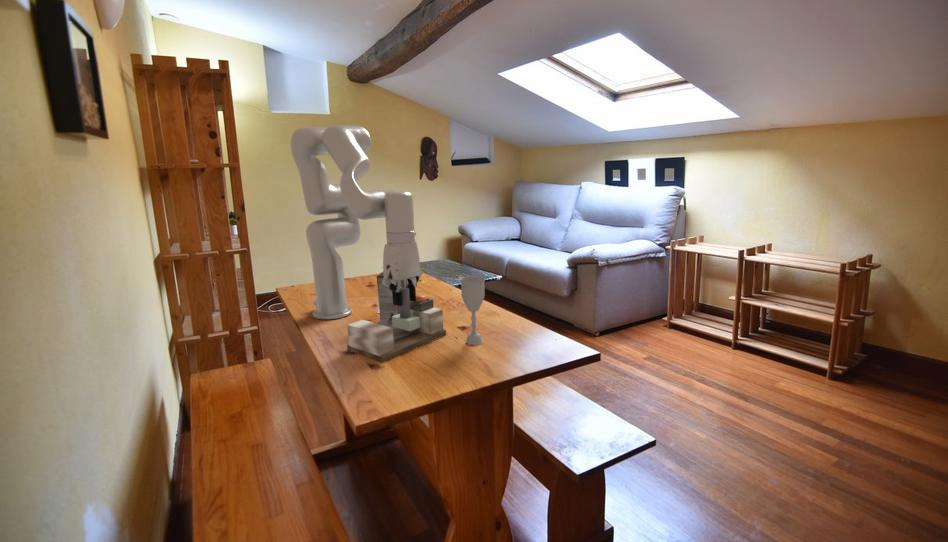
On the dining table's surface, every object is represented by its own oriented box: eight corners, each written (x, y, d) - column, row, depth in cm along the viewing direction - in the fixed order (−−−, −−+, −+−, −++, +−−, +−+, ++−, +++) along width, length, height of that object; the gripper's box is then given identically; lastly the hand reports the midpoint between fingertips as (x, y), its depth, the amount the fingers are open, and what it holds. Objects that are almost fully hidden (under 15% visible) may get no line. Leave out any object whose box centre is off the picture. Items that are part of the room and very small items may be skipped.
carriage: (392, 326, 138) (389, 289, 136) (402, 322, 141) (400, 286, 139) (409, 331, 134) (407, 292, 131) (420, 327, 137) (418, 289, 134)
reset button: (413, 304, 141) (412, 296, 140) (421, 301, 143) (420, 294, 143) (421, 305, 139) (420, 298, 138) (428, 303, 141) (428, 295, 141)
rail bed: (347, 350, 131) (344, 315, 129) (411, 326, 149) (410, 294, 147) (382, 362, 122) (379, 324, 120) (446, 335, 141) (444, 301, 138)
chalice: (490, 338, 137) (489, 276, 133) (483, 347, 131) (481, 282, 127) (466, 336, 139) (464, 274, 135) (457, 344, 133) (455, 280, 129)
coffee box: (390, 317, 158) (387, 269, 155) (409, 318, 157) (406, 269, 153) (379, 326, 149) (376, 275, 146) (399, 327, 148) (396, 276, 145)
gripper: (413, 233, 141) (416, 294, 145) (367, 241, 128) (372, 308, 132) (432, 234, 136) (435, 298, 140) (386, 243, 123) (391, 312, 127)
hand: (404, 302), depth 136 cm, fingers open, 4 cm apart
